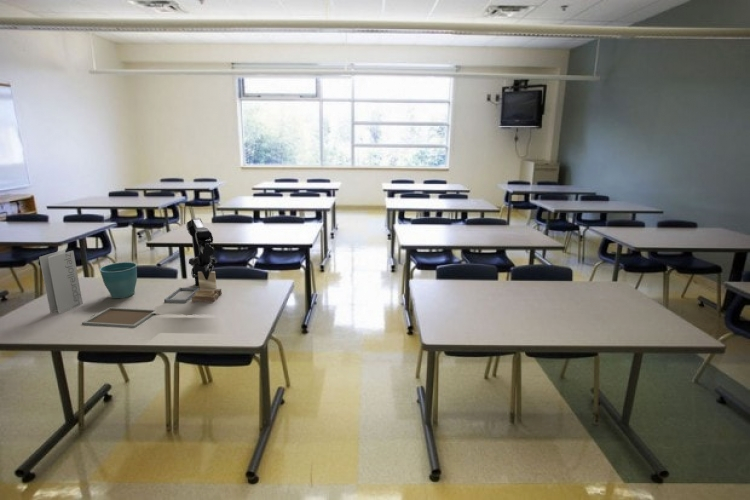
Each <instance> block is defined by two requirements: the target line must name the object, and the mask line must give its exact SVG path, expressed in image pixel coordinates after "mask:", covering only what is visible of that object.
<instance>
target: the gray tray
mask: <svg viewBox="0 0 750 500" xmlns="http://www.w3.org/2000/svg"><path fill="white" fill-rule="evenodd" d="M198 290H200V288H199V287H185V286H184V287H179V288H177V289H176V290H175V291H173V292H172V293H171V294H169V295H168V296H167V297H166V298H164V299H163V300H164V303H187V302H189V300H191V299H192V296H193V295H195V293H196V292H197V291H198ZM181 291H187V292H189V291H191V293H190V294H189V295H188V296H187V297H186V298H184V299H183V298H173V297H175V296H176V295H178V294H179V293H180V292H181Z"/></svg>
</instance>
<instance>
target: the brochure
mask: <svg viewBox="0 0 750 500" xmlns="http://www.w3.org/2000/svg"><path fill="white" fill-rule="evenodd" d="M38 258H39V263H40V268H41V272H42V278H43V279H42V280H43V284H44V288H45V294H46V299H47V304H48V308H49V313H50V314H51V313H55V312H56V311H57V312H58V314H59V315H61V314H62V313H65V312H67V311H69V310H72V309H74V308H76V307H79V306H82V305H83V297H82V291H81V285H80V280H79V275H78V270H77V263H76V259H75V252H74V250H70V251H67V252H66V249H63V250H58V251H56V252H52V253H48V254H45V255H42V256H39V257H38Z"/></svg>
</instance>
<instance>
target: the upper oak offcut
mask: <svg viewBox="0 0 750 500" xmlns="http://www.w3.org/2000/svg"><path fill="white" fill-rule="evenodd" d="M214 294H215V293H214V291H208V290H198V291H197V292H196V293H195V296H196V297H212V296H213V295H214Z"/></svg>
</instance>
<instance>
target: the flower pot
mask: <svg viewBox="0 0 750 500" xmlns="http://www.w3.org/2000/svg"><path fill="white" fill-rule="evenodd" d="M137 266H138V264H137V263H135V262H129V261H128V262H127V261H125V262H115V263H110V264H107V265H104V266H102V267H100V268H99V271H100V275H101V277H102V281H103V283H104V286H105V288H106V289H107V291H108V293H109V295H110V297H111V298H113V299H123V298H129V297H131V296H133V295H135V292H136V291H135V290H136V286H137V281H138V272H137V270H138V269H137Z"/></svg>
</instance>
